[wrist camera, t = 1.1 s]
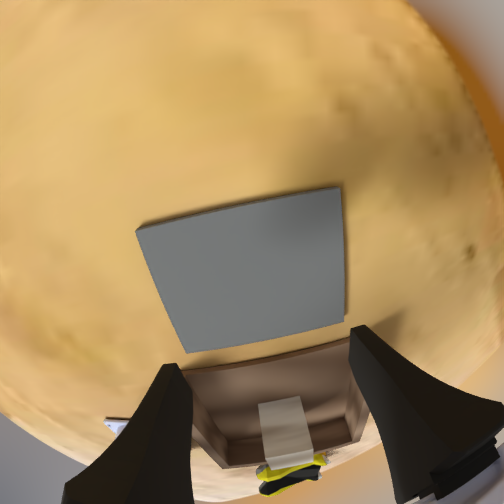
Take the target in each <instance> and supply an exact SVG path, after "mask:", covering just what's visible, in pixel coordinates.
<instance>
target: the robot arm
mask: <svg viewBox="0 0 504 504" xmlns="http://www.w3.org/2000/svg"><path fill="white" fill-rule="evenodd" d="M348 361H349V364H350V367H351V370H352V373H353V376H354V378H355V381H356V383H357V385H358V387H359V389H360V391H361V393H362V395H363V397H364V400H365V402H366V404H367V406H368V408H369V410H370V412H371V414H372V416H373V418H374V420H375V423H376V425H377V428H378V431H379V434H380V437H381V440H382V443H383V446H384V450H385V453H386V457H387V461H388V464H389V469H390V473H391V478H392V482H393V488H394V494H395V500H396V503H397V504H404V503H406V502H408V501H410V500H412V499H414V498H416V497H418V496H419V498H420V500H419V501H417V502H415V503H413V504H503V503H504V443H503V444H501V445H500V446H499V447H498V448H497V449H496V447H495V444H496V443H497V440H496V438H495V437H494V436H495V435H496V434H498V433H499V432H500V431H501V430H502V428H504V405H503V404H502V403H501V402H497V401H493V400H489V399H485V398H481V397H478V396H475V395H472V394H469V393H466V392H464V391H461V390H459V389H457V388H455V387H452V386H450V385H448V384H446V383H444V382H442V381H440V380H438V379H436V378H435V377H433V376H431V375H429V374H428V373H426V372H425V371H423V370H421V369H420V368H418V367H417V366H416V365H414V364H413V363H411V362H410V361H408V360H407V359H406V358H404V357H403V356H402V355H401V354H399V353H398V352H397V351H395V350H394V349H393V348H392V347H390V346H389V345H388V344H387V343H386V342H384V341H383V340H382V339H381V338H380V337H378V336H377V335H376V334H375V333H374V332H373V331H372V330H370V329H369V328H368V327H367V326H366V325H361V326H357V327H354V328H351V331H350V345H349V357H348ZM103 422H104V424H105V425H107V426H108V427H109V428H110V429H111V430H112V431H113V432H114V433H115V434H116V436H115V440H114V441H113V443H112V444H111V445H110V446H109V447H108V448H107V449H106V450H105V451H104V452H103V453H102V454H101V456H100V457H98V458H97V459H96V460H95V461H94V462H93V463H92V464H91V465H90V466H88V467H87V468H86V469H85V470H83V471H82V472H81V473H79V474H78V475H77V476H75V477H74V478H72V479H71V480H70V481H68V482H66V483H65V486H64V491H63V496H62V502H61V504H194V498H193V490H192V481H191V468H190V451H191V438H192V425H193V391H192V389H191V387H190V386H189V384H188V382H187V381H186V379H185V377H184V376H183V374H182V372H181V370H180V369H179V367H178V365H177V363H171V364H163V365H162V367H161V368H160V370H159V372H158V374H157V375H156V377H155V379H154V381H153V383H152V384H151V386H150V388H149V390H148V391H147V393H146V395H145V397H144V398H143V400H142V402H141V403H140V405H139V407H138V408H137V410H136V411H135V413H134V414H133V416H132V417H131V419H130V420H110V419H104V421H103Z"/></svg>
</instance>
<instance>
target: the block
mask: <svg viewBox="0 0 504 504" xmlns="http://www.w3.org/2000/svg"><path fill="white" fill-rule="evenodd" d="M258 409H259V416H260V424H261V431H262V438H263V446H264V453H265V459H266V461H267V463H268V465H269V467H270V468H271V470H276V469H282V468H287V467H292V466H297V465H302V464H306V463H311V462H313V445H312V442H311V438H310V434H309V430H308V426H307V422H306V418H305V414H304V410H303V407H302V403H301V399H300V396H295V397H291V398H286V399H282V400H277V401H271V402H266V403H261V404H258Z"/></svg>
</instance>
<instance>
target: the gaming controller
mask: <svg viewBox="0 0 504 504" xmlns="http://www.w3.org/2000/svg"><path fill="white" fill-rule="evenodd" d="M329 463H331V462H330V461H329V460H328V459H327V458H326V452H323V453H319V454H315V455H313V462H311V463H306V464H302V465H297V466H292V467H287V468H282V469H276V470H271V468H270V467H269V465H268V464H264V465H260V466H259V467H258V468H257V469H256V475H257V477H258V479H260V480H263V481H264V482H263V483H262V484H261V486H260V487H259V492H260V494H261V495H263V496H267V497H270V496H274V495H278V494H280V493H281V492H283V491H285V490H286V489H288V488H290V487H292V486H293V485H295V484H296V483H299V482H302V481H304V480H310V481H316V480H318V479H320V478H322V475H321V474H320V472H319V470H320V467H321V466H325V465H327V464H329Z"/></svg>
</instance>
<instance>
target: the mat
mask: <svg viewBox="0 0 504 504" xmlns="http://www.w3.org/2000/svg"><path fill="white" fill-rule="evenodd" d="M135 233H136V236H137V238H138V241H139V244H140V247H141V250H142V252H143V255H144V258H145V260H146V263H147V265H148V268H149V271H150V273H151V276H152V278H153V281H154V283H155V286H156V288H157V290H158V293H159V295H160V298H161V300H162V302H163V304H164V307H165V309H166V311H167V314H168V316H169V318H170V320H171V322H172V325H173V327H174V329H175V331H176V333H177V335H178V337H179V339H180V342H181V344H182V346H183V348H184V350H185V352H186V354H187V353H194V352H201V351H208V350H215V349H221V348H227V347H233V346H239V345H244V344H249V343H255V342H260V341H265V340H270V339H275V338H279V337H284V336H288V335H293V334H297V333H301V332H306V331H310V330H314V329H318V328H322V327H326V326H329V325H333V324H337V323H341V322H344V240H343V221H342V205H341V193H340V188H339V187H330V188H324V189H318V190H312V191H306V192H301V193H295V194H290V195H284V196H279V197H274V198H268V199H263V200H258V201H253V202H248V203H243V204H239V205H234V206H229V207H224V208H220V209H215V210H211V211H206V212H202V213H198V214H193V215H189V216H185V217H181V218H176V219H172V220H168V221H164V222H160V223H156V224H152V225H148V226H144V227H141V228H137V230H136V231H135Z"/></svg>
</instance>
